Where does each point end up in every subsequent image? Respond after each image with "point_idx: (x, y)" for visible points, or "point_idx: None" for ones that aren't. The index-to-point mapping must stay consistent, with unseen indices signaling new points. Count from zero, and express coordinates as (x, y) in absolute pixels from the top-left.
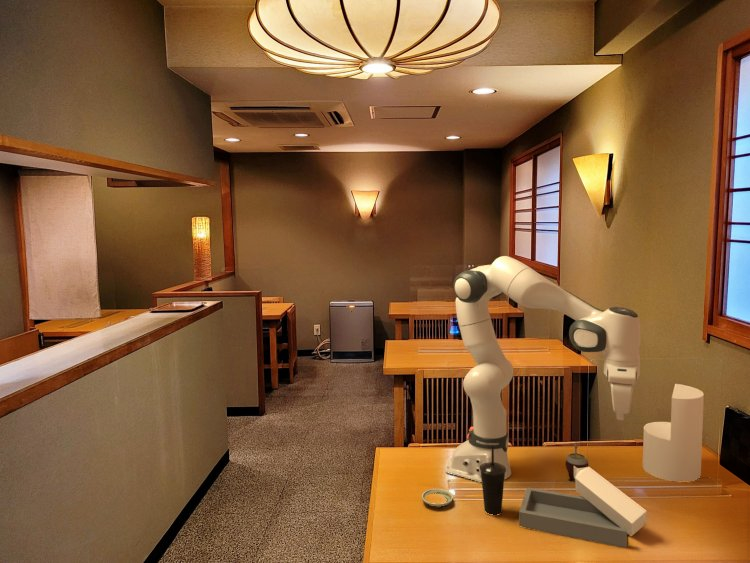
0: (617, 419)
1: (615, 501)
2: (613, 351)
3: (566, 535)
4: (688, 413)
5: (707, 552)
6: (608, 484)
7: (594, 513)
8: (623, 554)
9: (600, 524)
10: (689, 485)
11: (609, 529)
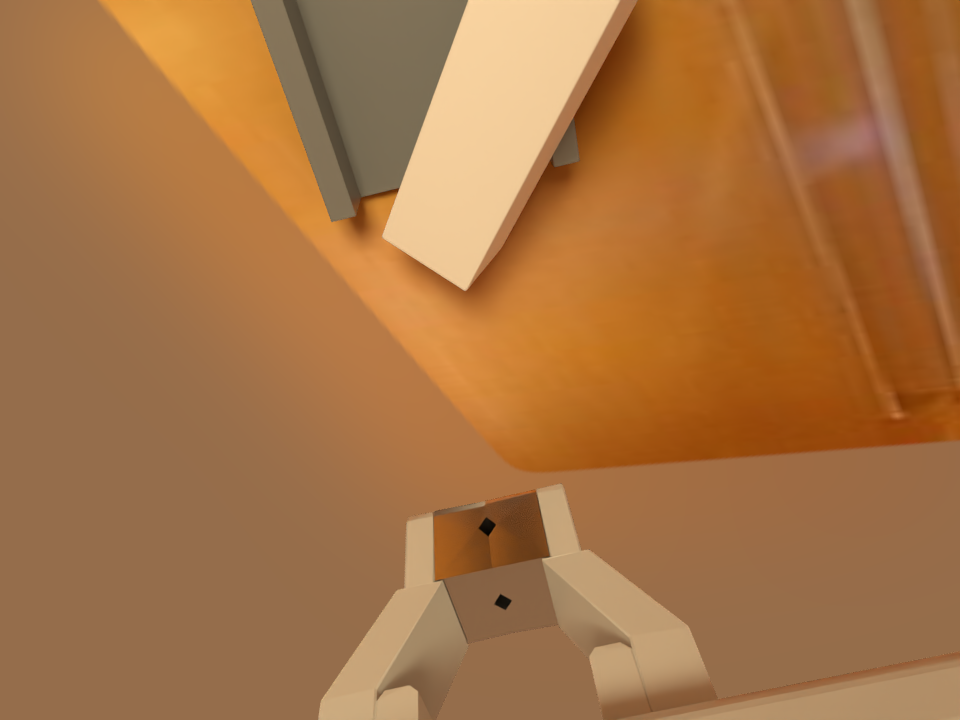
0: (411, 517)
1: (452, 160)
2: None
3: None
4: None
5: (481, 407)
6: (543, 110)
7: None
8: (289, 198)
9: (314, 104)
10: (948, 304)
11: (307, 150)
